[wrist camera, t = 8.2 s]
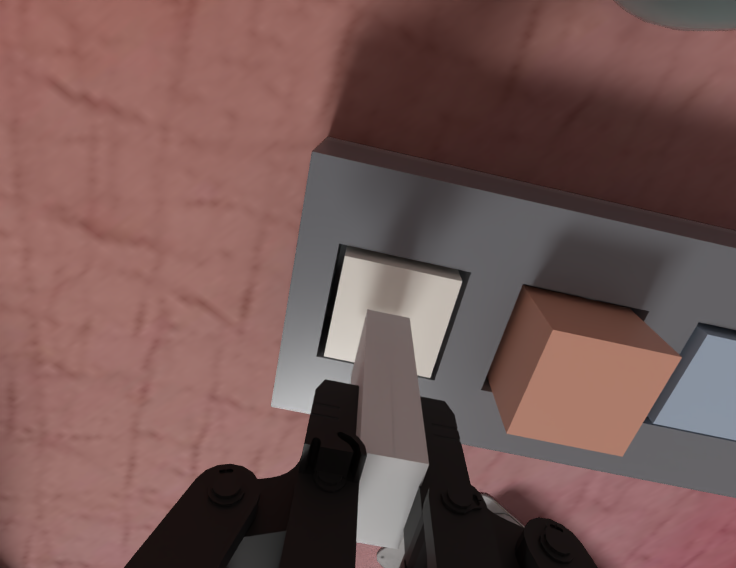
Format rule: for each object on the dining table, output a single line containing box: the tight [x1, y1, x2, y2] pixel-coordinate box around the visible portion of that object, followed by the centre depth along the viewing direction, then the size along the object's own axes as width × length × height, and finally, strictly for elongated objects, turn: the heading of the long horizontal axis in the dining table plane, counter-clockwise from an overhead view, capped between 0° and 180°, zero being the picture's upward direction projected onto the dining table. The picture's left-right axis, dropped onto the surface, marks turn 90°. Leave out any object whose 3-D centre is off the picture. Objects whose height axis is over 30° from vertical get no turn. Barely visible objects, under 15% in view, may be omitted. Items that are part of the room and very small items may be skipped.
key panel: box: [271, 137, 736, 498], centre depth 20 cm, size 22×11×4 cm, turn 78°
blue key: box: [647, 322, 736, 440], centre depth 20 cm, size 4×4×4 cm
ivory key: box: [324, 245, 462, 378], centre depth 19 cm, size 4×4×4 cm
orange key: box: [487, 285, 682, 457], centre depth 17 cm, size 4×4×4 cm
